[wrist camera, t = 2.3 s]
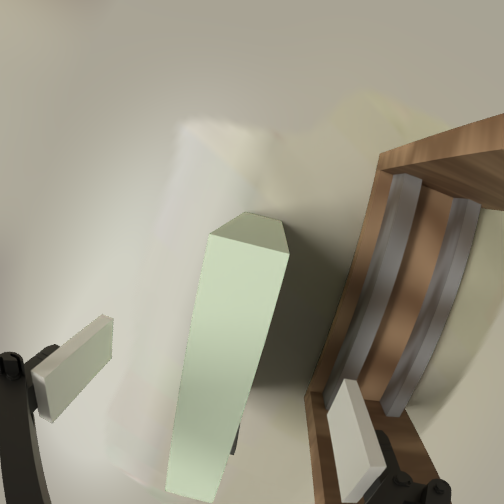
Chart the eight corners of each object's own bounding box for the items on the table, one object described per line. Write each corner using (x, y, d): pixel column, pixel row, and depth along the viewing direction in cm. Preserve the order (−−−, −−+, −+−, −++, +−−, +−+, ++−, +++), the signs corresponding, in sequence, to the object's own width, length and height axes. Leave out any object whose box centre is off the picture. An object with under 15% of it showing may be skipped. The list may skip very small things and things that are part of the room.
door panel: (243, 388, 28) (221, 505, 15) (206, 378, 28) (164, 490, 15) (288, 222, 25) (305, 258, 11) (244, 211, 25) (209, 234, 12)
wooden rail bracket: (392, 408, 28) (444, 525, 12) (304, 397, 28) (317, 538, 12) (472, 191, 23) (608, 202, 8) (379, 153, 24) (505, 112, 8)
